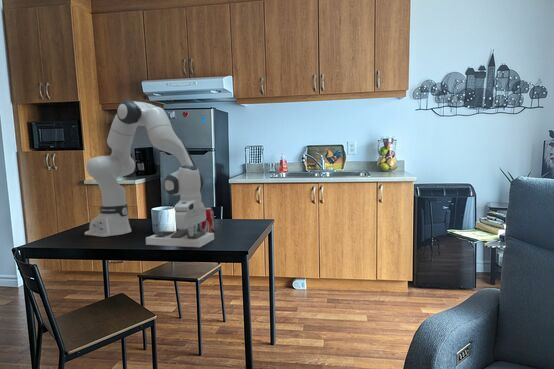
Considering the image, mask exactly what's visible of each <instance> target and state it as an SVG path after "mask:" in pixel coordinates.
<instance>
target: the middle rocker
mask: <svg viewBox="0 0 554 369" xmlns="http://www.w3.org/2000/svg"><path fill="white" fill-rule="evenodd" d="M176 231H177V232H176V233H175V234H173V235H172V236H171V238H181V237H183V236H185V235H186V234H187V233H188V232H189V231H188V229H187V228H186V229H177V230H176Z"/></svg>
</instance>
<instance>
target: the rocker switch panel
mask: <svg viewBox="0 0 554 369" xmlns="http://www.w3.org/2000/svg"><path fill="white" fill-rule="evenodd" d="M172 231H173V232H174V233H173V234H175V233H176V232H177V231H178V230H172ZM173 234H170V235H155V233H154V234H152V235H150V236H146V237H145V245H146V246H147V245H149V246H150V245H151V246H165V247H166V246H169V247H186V248H201V247H203V246H205V245H207V244H209V243H211V242H212V241H214V240H215V233H214V232H211V233H205V235H203V236H201V237H198V238H187V234H189V232H188V233H187V234H186V235H185V236H183V237H181V238H171V236H172V235H173Z"/></svg>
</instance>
